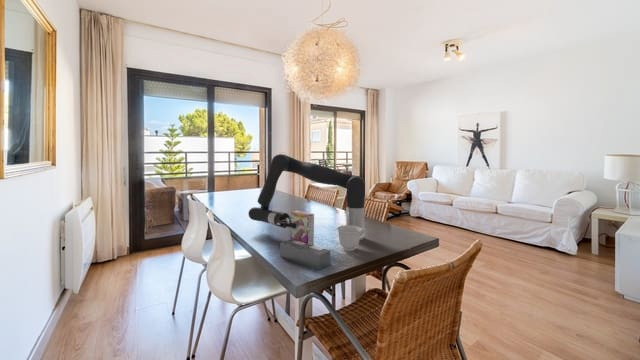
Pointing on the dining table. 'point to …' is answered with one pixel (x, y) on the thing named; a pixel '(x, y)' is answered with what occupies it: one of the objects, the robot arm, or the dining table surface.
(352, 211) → the robot arm
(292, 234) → the candy bar box
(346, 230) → the teacup
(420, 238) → the dining table surface
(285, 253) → the box
